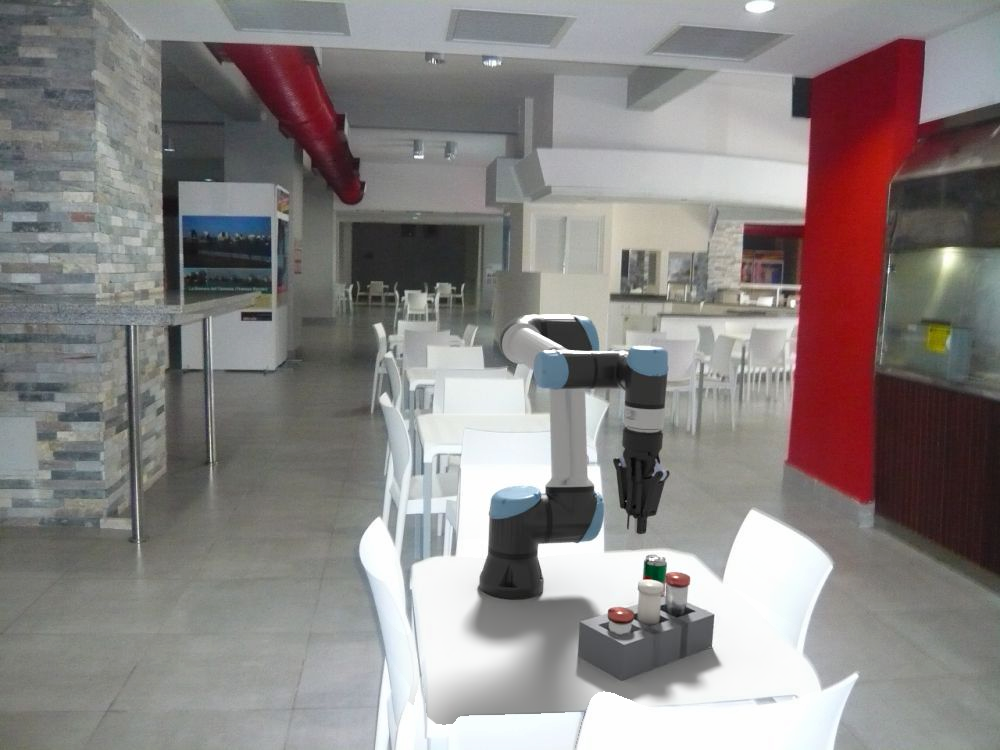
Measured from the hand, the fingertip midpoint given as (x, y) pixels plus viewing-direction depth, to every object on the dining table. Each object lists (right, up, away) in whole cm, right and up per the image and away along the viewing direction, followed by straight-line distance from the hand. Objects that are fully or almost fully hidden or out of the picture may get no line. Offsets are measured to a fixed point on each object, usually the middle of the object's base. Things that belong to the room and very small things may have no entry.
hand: (635, 548), depth 169 cm
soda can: (+8, -19, +28) cm, 35 cm away
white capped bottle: (+3, -17, +5) cm, 18 cm away
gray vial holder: (+3, -22, +6) cm, 23 cm away
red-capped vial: (-3, -21, +1) cm, 22 cm away
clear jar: (+10, -17, +10) cm, 22 cm away
